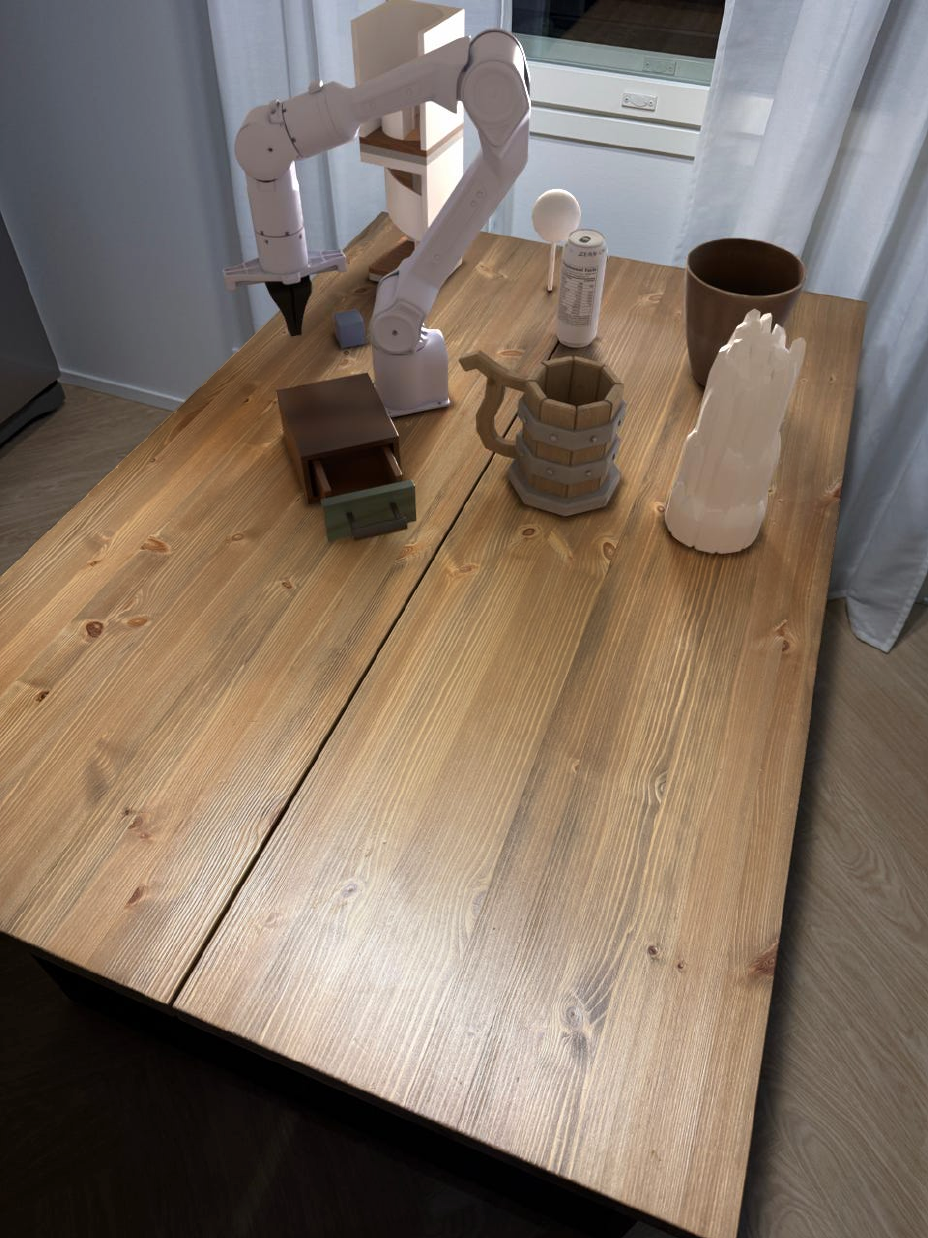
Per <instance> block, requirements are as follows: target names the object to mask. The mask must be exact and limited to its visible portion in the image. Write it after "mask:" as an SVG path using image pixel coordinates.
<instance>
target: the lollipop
mask: <svg viewBox="0 0 928 1238" xmlns="http://www.w3.org/2000/svg"><path fill="white" fill-rule="evenodd" d="M581 213H582V212H581V207H580V204H579V202H578V200H577V198H576V197H575V196H574V195H573V194H572V193H570V192H569V191H567V190H565V189H560V188H554V189H549V190H547V191H545V192H544V193H542V194H540V196H539V197H538V198H537V199H536V201H535V203H534V205H533V206H532V212H531V223H532V227H533V229H534V231H535V233H536V234H537V236H538V237H540V238H541V239H542V240H544V241H546V242H549V243H551V245H550V257H549V270H548V278H547V279H548V280H547V290H548V291H552V290H553V281H554V271H555V259H556V250H557V249H556V248H557V243H562V242H565V241H567V240H568V239H569V234H570V233H571V232H573V231H575V230H578V228H579V225H580V223H581V216H582V215H581Z"/></svg>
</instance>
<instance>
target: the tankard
mask: <svg viewBox="0 0 928 1238" xmlns="http://www.w3.org/2000/svg"><path fill="white" fill-rule="evenodd" d="M458 363H459V364H460V366H461V368H462V369H463V371H464V372H470V371H472V370H478V371H479V372H480V373H481V374H482V375H483V376H484V377H486V384H485V389H484V390H485V392H484V397H483V399H482V401H481V403H480V405H479V407H478V409H477V411H476V413H475V431H476V433H477V435H478V437H479V438H480V441H481V443H482V444H483V447H484V449H486V450H488V451H491V452H492V453H495V454H497V455H500V456H501V457H505V458H509V459H513V460H512V461H511V463H510V464H509V466H508V467H507V475H506V476H507V478H508V480H509V482H510V483H511V485H512V486H513V488H514V490H515V491H516V493H517V495H518V496H519V499H520V500H521V502H522V503H523V504H524V505H527V506H530V507H533V508H536V509H539V510H542V511H546V512H549V513H552V514H555V515H559V516H561V517H568V516H572V515H576V514H580V513H584V512H589V511H593V510H597V509H601V508H604V507H607V505H608V503H609V501H610V499H611V497H612V495H613V494H614V492H615V490H616V488H617V486H618V484H619V482H620V480H621V476H622V471H621V470H620V469H619V467H618V466H617V465H616V463H615V461H616V459H617V456H618V454H619V452H620V445H621V439H622V438H621V437H620V436H619V435H618V433H617V432H618V431H619V429H620V427H622V425H623V422H624V420H625V416H626V412H627V411H626V410H627V405H628V403H627V402H626V401H625V400H624V399H623V395H624V389H625V386H624V385H625V384H624V383H623V382H622V380H621V379H620V377H618V375H617V374H616V372H614V370H613V369H612V368H611V367H610V366H609V365H607V364H606V363H604V362H600V361H596V360H592V359H588V358H585V357H581V356H578V355H575V356H572V355H569V356H563V357H558V358H554V359H553V358H552V359H549V360H544V361H541V362H539V363H537V365H536V367H535V368H534V369H533V371H531V373H530V375H527V374H523V373H519V372H516V371H513V370H512V371H511V370H510V369H507V368H506V367H505V366H503V365H501V363H499V362H497V361H496V360H494V359H493V358H492V357H490V356H488V355H487V353H485V352H484V351H482V350H481V349H478V350H474V351H471V352H468V353H464V354H462V355H461V356H460V357H459V358H458ZM506 388H509V389H513V390H514V391H515V390H516V391H518V392H522V395H521V396H520V397H519V398H518V400H517V417H518V418H519V420H520V421H521V423H522V426H521V427H520V429H519V430H518V431H517V434H516V435H515V440H512V439H506V438H505V437H502V436H500V435H499V434H498V432H497V429H496V427H495V418H496V415H497V413H498V412H499V410H500V407H501V406H502V403H503V401H504V398H505V394H506V393H505V392H506Z"/></svg>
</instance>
